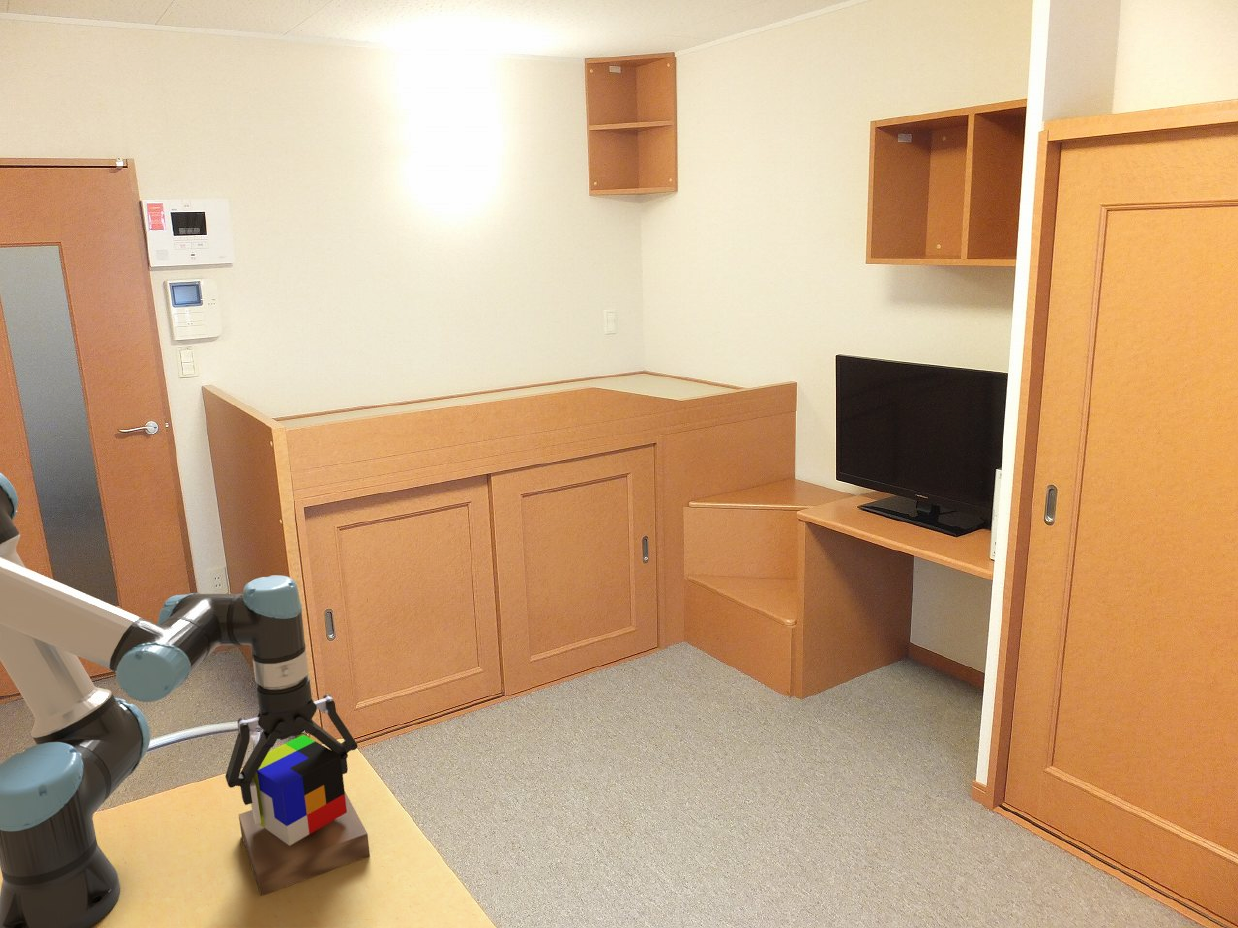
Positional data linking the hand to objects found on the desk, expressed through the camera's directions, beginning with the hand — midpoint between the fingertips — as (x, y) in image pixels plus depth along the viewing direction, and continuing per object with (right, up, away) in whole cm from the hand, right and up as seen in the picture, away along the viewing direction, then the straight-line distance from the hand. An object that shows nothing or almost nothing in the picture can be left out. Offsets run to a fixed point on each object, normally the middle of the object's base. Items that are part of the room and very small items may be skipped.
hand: (299, 805), depth 143 cm
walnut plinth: (0, -7, +2) cm, 7 cm away
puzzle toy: (0, -2, 0) cm, 2 cm away
